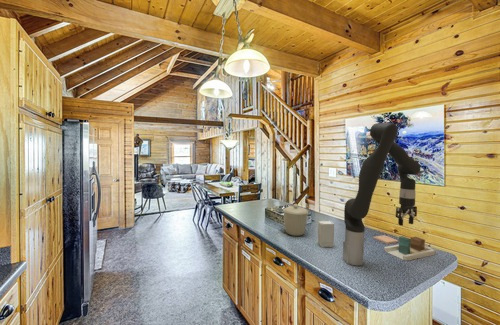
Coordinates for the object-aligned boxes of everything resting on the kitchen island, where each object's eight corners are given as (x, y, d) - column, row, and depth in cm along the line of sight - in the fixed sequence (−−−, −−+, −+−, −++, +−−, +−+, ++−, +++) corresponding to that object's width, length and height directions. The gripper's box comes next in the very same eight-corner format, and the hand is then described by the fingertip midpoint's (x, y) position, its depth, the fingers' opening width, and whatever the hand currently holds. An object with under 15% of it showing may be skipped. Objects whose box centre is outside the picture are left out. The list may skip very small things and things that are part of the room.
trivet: (387, 244, 141) (387, 242, 141) (373, 238, 151) (373, 236, 151) (398, 242, 145) (398, 240, 145) (384, 236, 154) (384, 235, 154)
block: (418, 250, 129) (419, 240, 128) (409, 247, 133) (410, 237, 133) (424, 249, 130) (424, 239, 130) (415, 246, 135) (416, 236, 135)
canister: (310, 238, 148) (311, 207, 147) (283, 237, 149) (284, 206, 148) (304, 229, 166) (305, 201, 165) (280, 228, 167) (281, 201, 166)
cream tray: (405, 261, 119) (406, 256, 119) (384, 251, 131) (384, 247, 131) (436, 254, 128) (436, 250, 128) (413, 245, 140) (413, 241, 140)
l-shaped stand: (410, 256, 123) (411, 240, 123) (395, 250, 132) (396, 235, 131) (429, 252, 129) (430, 237, 129) (413, 246, 138) (414, 232, 137)
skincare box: (330, 243, 141) (331, 220, 140) (334, 247, 135) (335, 223, 134) (317, 243, 140) (318, 220, 140) (320, 247, 134) (321, 223, 134)
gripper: (405, 198, 121) (403, 227, 121) (422, 197, 126) (421, 225, 126) (392, 196, 128) (390, 223, 128) (409, 194, 133) (407, 221, 133)
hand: (405, 224), depth 127 cm, fingers open, 8 cm apart
